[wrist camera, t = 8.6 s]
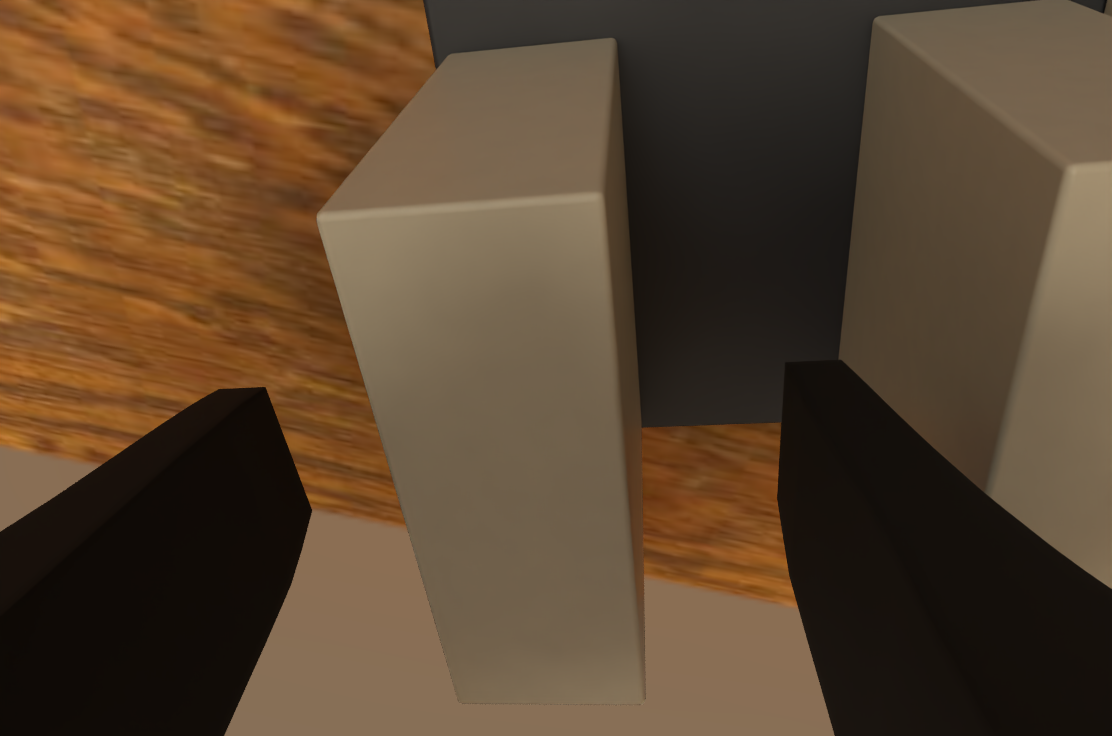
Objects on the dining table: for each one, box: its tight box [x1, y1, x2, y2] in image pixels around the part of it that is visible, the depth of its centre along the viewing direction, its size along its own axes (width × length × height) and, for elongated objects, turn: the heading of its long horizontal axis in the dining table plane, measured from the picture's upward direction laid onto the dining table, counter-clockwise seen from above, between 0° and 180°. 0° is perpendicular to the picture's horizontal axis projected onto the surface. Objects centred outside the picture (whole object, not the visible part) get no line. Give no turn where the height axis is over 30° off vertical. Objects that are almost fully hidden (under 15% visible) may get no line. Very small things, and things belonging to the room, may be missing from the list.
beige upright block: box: [838, 0, 1112, 589], centre depth 10 cm, size 7×2×6 cm, turn 6°
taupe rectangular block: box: [316, 38, 646, 705], centre depth 11 cm, size 7×2×6 cm, turn 6°
